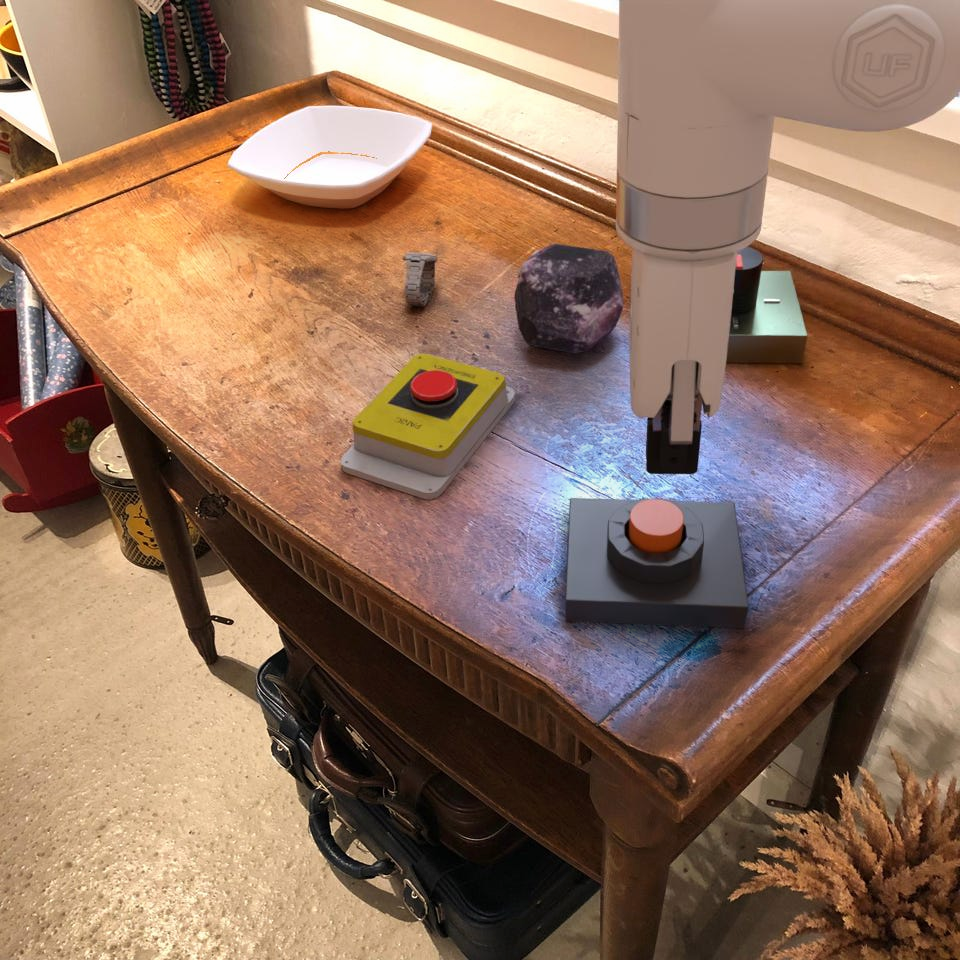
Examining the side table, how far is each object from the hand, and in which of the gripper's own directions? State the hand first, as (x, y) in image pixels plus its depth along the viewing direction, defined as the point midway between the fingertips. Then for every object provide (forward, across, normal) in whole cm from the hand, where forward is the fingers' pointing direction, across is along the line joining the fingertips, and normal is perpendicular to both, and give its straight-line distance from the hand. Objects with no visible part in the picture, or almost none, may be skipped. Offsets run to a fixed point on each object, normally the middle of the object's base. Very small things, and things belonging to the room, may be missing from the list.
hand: (671, 465), depth 62 cm
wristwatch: (+10, -36, -23) cm, 44 cm away
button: (+6, 0, -1) cm, 6 cm away
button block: (+10, 0, -1) cm, 10 cm away
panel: (+10, -31, +6) cm, 33 cm away
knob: (+7, -31, +7) cm, 33 cm away
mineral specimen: (+10, -29, -8) cm, 32 cm away
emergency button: (+10, -15, -19) cm, 26 cm away
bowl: (+9, -62, -37) cm, 73 cm away
